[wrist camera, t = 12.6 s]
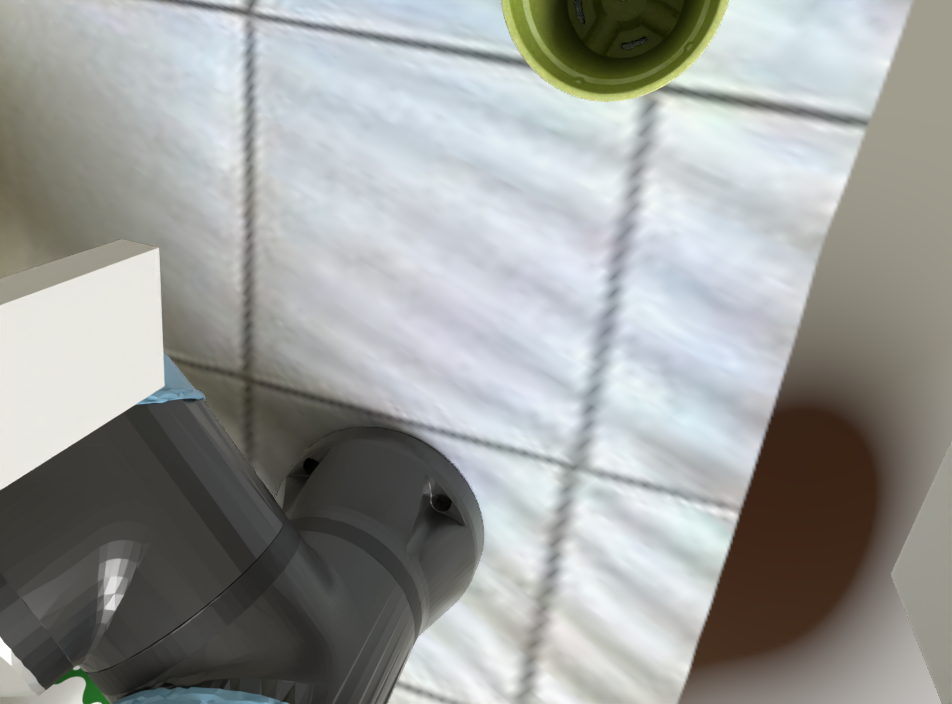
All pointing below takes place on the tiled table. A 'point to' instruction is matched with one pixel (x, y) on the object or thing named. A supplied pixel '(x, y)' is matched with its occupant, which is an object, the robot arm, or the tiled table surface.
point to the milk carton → (65, 692)
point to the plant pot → (611, 42)
